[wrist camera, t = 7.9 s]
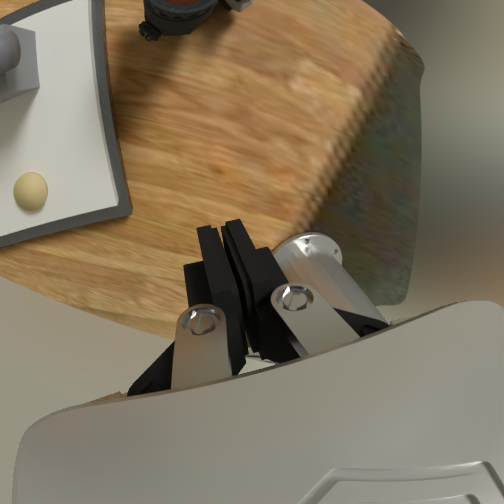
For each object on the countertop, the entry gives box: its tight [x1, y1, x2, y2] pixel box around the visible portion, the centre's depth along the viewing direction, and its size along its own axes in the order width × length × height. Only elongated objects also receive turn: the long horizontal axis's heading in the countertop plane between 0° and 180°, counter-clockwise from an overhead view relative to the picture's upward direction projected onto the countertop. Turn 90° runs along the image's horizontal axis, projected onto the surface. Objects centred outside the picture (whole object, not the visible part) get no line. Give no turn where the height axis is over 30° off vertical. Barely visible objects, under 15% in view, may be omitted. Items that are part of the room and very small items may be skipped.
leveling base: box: [0, 0, 133, 247], centre depth 23 cm, size 26×20×2 cm
